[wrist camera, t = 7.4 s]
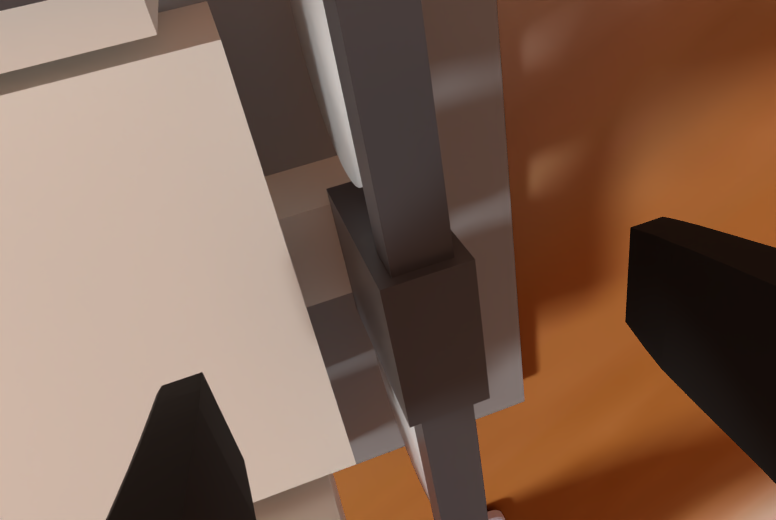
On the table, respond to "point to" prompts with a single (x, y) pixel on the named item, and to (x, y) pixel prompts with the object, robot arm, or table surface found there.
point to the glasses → (400, 234)
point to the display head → (210, 244)
